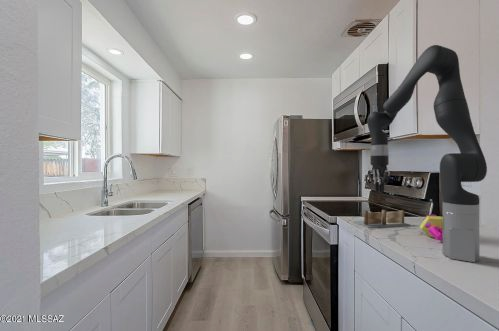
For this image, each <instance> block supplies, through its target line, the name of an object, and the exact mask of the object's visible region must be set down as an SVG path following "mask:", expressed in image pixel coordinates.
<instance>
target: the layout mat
mask: <svg viewBox="0 0 499 331" xmlns="http://www.w3.org/2000/svg"><path fill="white" fill-rule="evenodd" d="M352 223H354V224H357V225H358V226H362V227H364V228H366V229H367V228H368V229H370V228H389V227H393V228H394V227H408V226H411V224H409V223H406V222H404V223H387V219H386V225H383V224H368V225H365V224H364V220H355V221H354V220H353V222H352Z"/></svg>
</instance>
